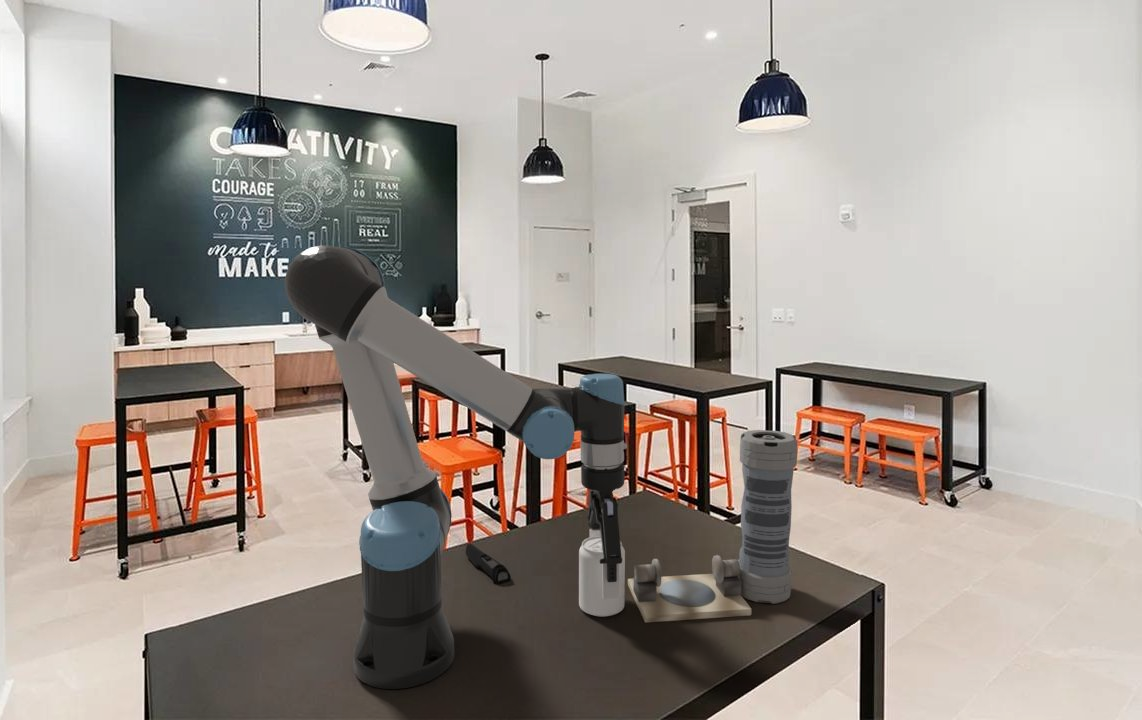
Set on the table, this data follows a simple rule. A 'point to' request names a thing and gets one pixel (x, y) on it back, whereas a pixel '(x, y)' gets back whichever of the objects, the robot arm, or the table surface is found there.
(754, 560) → the canister
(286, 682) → the table surface
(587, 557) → the beverage can
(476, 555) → the electric trimmer
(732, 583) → the cradle
